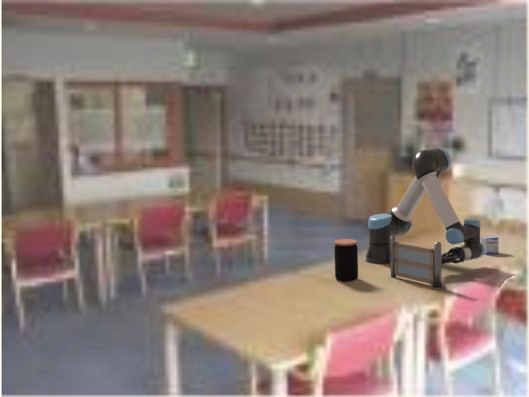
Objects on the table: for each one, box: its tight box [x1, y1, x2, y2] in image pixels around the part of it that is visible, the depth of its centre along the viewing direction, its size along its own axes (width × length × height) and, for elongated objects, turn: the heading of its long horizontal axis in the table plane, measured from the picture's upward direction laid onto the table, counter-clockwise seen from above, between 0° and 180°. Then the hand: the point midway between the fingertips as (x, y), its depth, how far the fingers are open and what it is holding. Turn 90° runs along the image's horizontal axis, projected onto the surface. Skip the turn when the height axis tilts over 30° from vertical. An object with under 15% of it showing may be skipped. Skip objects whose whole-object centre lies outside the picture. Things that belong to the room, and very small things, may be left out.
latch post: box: [389, 236, 397, 278], centre depth 325 cm, size 2×2×19 cm
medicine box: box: [480, 236, 500, 256], centre depth 366 cm, size 8×4×9 cm, turn 105°
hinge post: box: [430, 241, 446, 291], centre depth 304 cm, size 6×6×20 cm
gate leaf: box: [394, 241, 434, 285], centre depth 315 cm, size 23×2×16 cm, turn 35°
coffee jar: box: [333, 238, 359, 283], centre depth 325 cm, size 11×11×18 cm
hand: (425, 262), depth 318 cm, fingers closed
